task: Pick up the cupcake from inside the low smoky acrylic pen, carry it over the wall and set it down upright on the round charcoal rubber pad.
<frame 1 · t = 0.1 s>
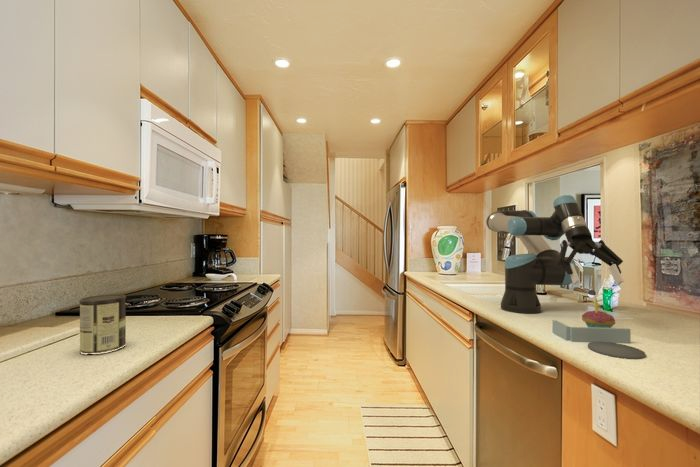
hand: (598, 282, 111), 15 cm above the counter, tool tilted 35°, fingers open, 13 cm apart
pad: (615, 350, 90), on the counter
pen walls: (599, 341, 97), on the counter
cupcake: (598, 334, 106), on the counter
coffee can: (103, 349, 91), on the counter
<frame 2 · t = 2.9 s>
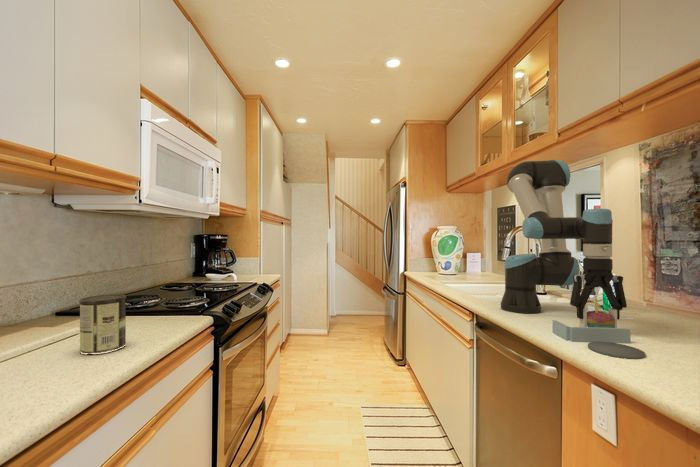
hand: (598, 329, 106), 1 cm above the counter, tool pointing down, fingers closed on cupcake, 8 cm apart
cupcake: (598, 334, 106), on the counter, touching gripper
everything else where it was.
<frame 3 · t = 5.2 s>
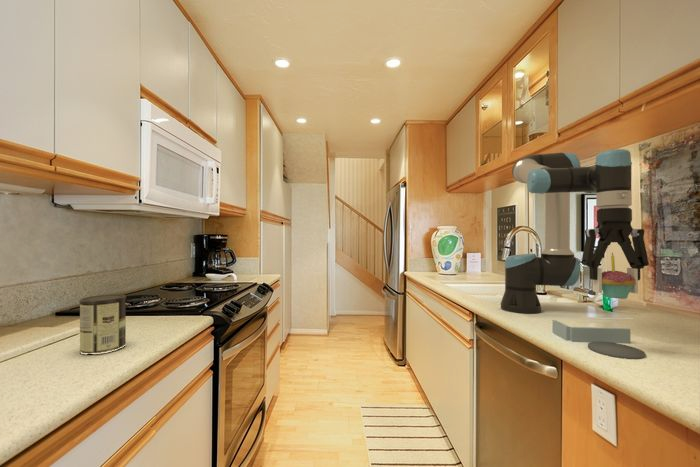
hand: (614, 292, 90), 16 cm above the counter, tool pointing down, fingers closed on cupcake, 8 cm apart
cupcake: (615, 297, 90), point 14 cm above the counter, touching gripper
everything else where it was.
when the fingers open (3 cm above the counter, at t = 7.9 s): cupcake drops 1 cm, resting on pad.
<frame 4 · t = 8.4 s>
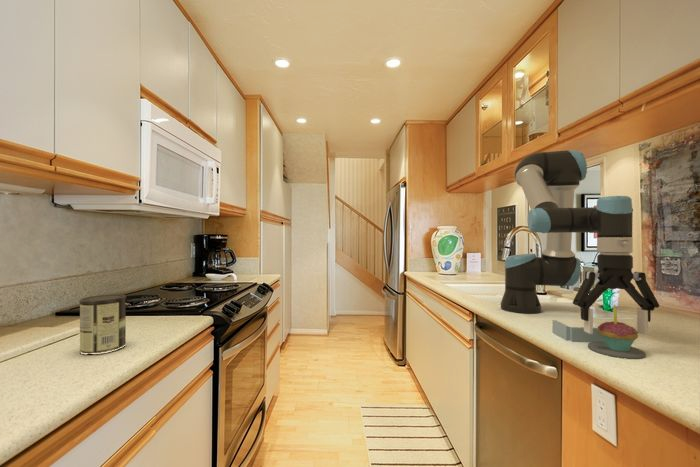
hand: (615, 333, 90), 5 cm above the counter, tool pointing down, fingers open, 13 cm apart
cupcake: (617, 349, 89), resting on pad
everything else where it was.
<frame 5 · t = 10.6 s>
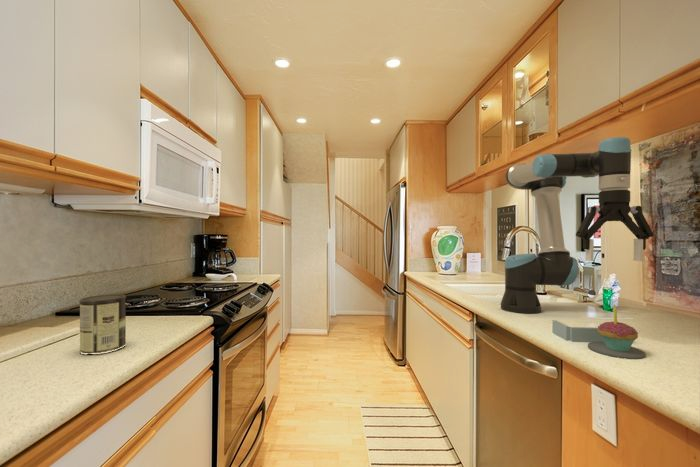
hand: (613, 260, 101), 23 cm above the counter, tool pointing down, fingers open, 13 cm apart
nothing on the counter moved.
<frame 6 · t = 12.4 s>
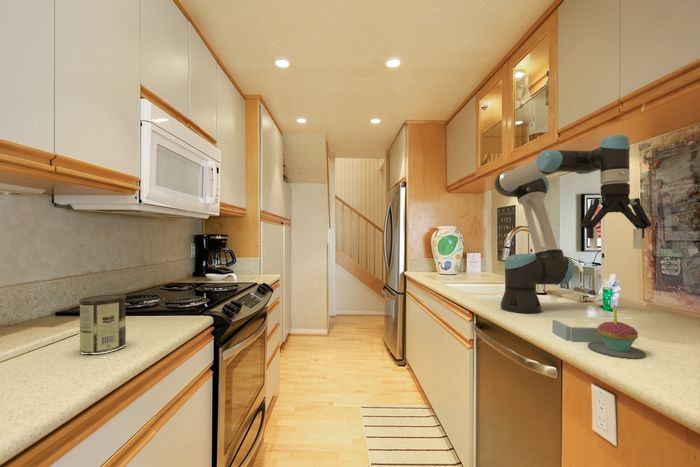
hand: (615, 248, 110), 27 cm above the counter, tool pointing down, fingers open, 13 cm apart
nothing on the counter moved.
at the end: cupcake 0.4 cm from the pad (horizontally); cupcake tilted 0°; the gripper is holding nothing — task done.
